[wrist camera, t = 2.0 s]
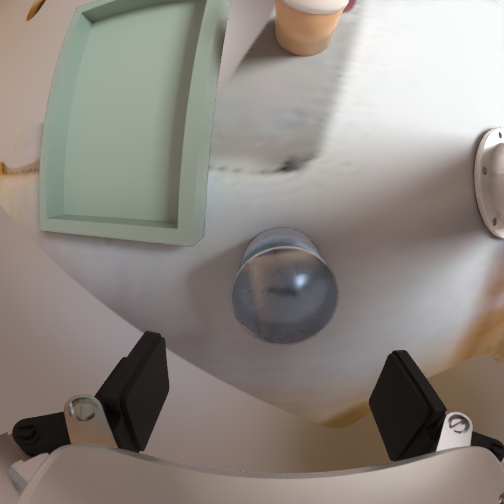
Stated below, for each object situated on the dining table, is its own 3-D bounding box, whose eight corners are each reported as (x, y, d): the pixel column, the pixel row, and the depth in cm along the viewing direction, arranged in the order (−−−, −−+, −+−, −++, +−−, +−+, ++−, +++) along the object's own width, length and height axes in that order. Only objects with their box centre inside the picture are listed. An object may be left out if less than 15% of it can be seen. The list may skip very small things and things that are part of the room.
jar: (330, 20, 17) (348, -29, 9) (329, 61, 18) (353, 15, 11) (275, 13, 17) (276, -40, 9) (272, 53, 18) (271, 3, 11)
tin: (325, 231, 22) (347, 253, 16) (313, 304, 24) (326, 348, 17) (245, 222, 23) (234, 241, 16) (239, 296, 24) (227, 339, 18)
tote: (232, -7, 17) (227, -27, 13) (203, 236, 23) (192, 246, 20) (92, 19, 17) (76, 8, 14) (61, 223, 24) (40, 230, 20)
